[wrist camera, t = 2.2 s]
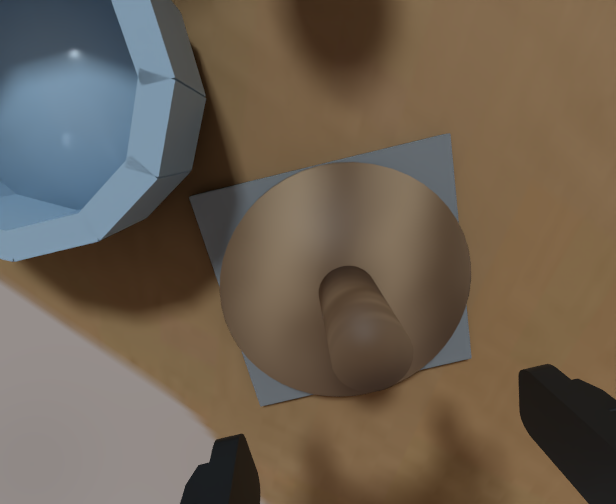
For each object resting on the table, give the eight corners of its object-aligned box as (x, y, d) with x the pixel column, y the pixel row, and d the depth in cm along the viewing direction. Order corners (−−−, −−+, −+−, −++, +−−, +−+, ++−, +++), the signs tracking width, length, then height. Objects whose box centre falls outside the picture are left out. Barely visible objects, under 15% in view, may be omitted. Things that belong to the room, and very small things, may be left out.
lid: (450, 133, 17) (551, 124, 11) (471, 358, 21) (552, 453, 15) (189, 196, 18) (126, 226, 11) (260, 406, 22) (247, 520, 15)
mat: (444, 133, 18) (450, 133, 17) (466, 352, 22) (471, 358, 21) (192, 195, 18) (188, 196, 17) (261, 399, 22) (260, 406, 22)
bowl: (151, -104, 14) (68, -255, 9) (239, 193, 18) (218, 212, 13) (-136, -29, 14) (-385, -132, 9) (11, 248, 18) (-102, 289, 13)
